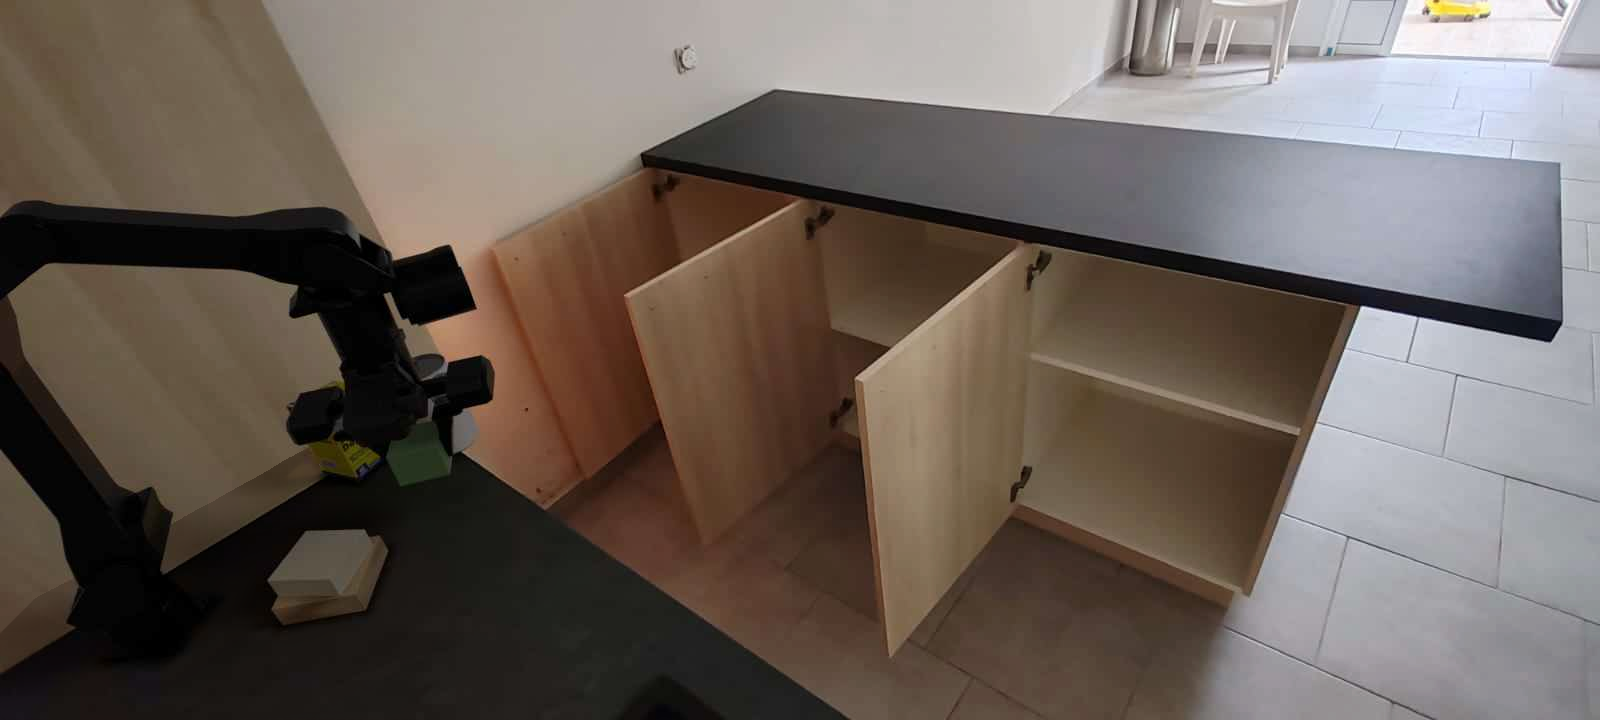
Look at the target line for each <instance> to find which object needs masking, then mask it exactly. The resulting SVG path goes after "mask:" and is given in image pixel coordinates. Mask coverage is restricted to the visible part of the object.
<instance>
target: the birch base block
mask: <svg viewBox="0 0 1600 720" xmlns="http://www.w3.org/2000/svg"><path fill="white" fill-rule="evenodd" d="M369 538H370V540H371V542H372V543H373V545H374V546H373V548H372V549H371V551H370V552H369V554H368V555H367V557H366V558H365V560H364V561H363V563H362V564H361V566H360V567H359V569H358V570H357V572H356V573H355V575H354V576H353V578H352V579H351V581H350V582H349V584H348V585H347V587H346V588H345V590H344V591H343V593H342V594H341V595H340V596H297V597H279V596H278V595H277V597H276V600H275V601H274V603H273V606H272V607H271V612H272V613H273V614H274V615H275V618H276V619H278V621H279V622H280V624H281V625H282V626H286V625H291V624H297V623H303V622H309V621H314V620H319V619H325V618H331V617H335V616H341V615H348V614H352V613H359V612H363V611H366V610H367V608H368V605H369V603H370V600H371V599H372V598H371V597H372V595H373V593H374V589H375V587H376V585H377V582H378V579H379V576H380V574H381V571H382V568H383V567H384V563H385V560H386V558H387V555H388V553H389V549H388V548H387V546H386V544H385V542H384V540H383V538H382V536H381V535H374V536H369Z"/></svg>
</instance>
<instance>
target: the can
mask: <svg viewBox="0 0 1600 720" xmlns="http://www.w3.org/2000/svg"><path fill="white" fill-rule="evenodd" d="M412 359H413V361H414V362H417V363H418V365H419V367H420V374H419V375H420V377H421V380H427V379H431V378H433V377H434V376H435V375H437V374H440V373H444V372H447V367H448V362H449V361H446V358H445V356H444V355H442V354H440V353H435V352H433V353H432V352H430V353H429V352H428V353H423V354H419V355H415V356H413V357H412ZM433 406H434V403H432V401H431V399H428V416H427V417H425V418H421V419H418V420H417V423H416V424H420V423H424V422H429V421H432V420H431V417H432V412H433ZM478 435H479V429H478V426H477V424H476V421H475V419H474V416H473V414H472V412H471V409H470V408H465V409H463V412H462V413H461V414H460V415H457V416H454V425H453V445H454V450H453V455H457V454H460V453H461V452H463V451H465V450H467V449H469V448H470V447H471V446H472V445H473V444H474V443H475V441H476V439H477V438H478Z"/></svg>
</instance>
